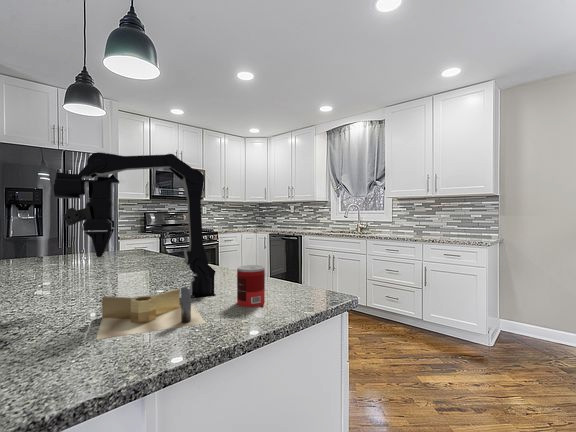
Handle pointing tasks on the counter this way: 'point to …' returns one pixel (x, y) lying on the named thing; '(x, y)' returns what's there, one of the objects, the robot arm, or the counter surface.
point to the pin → (185, 304)
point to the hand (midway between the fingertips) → (100, 254)
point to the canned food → (251, 286)
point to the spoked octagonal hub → (140, 306)
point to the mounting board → (146, 324)
